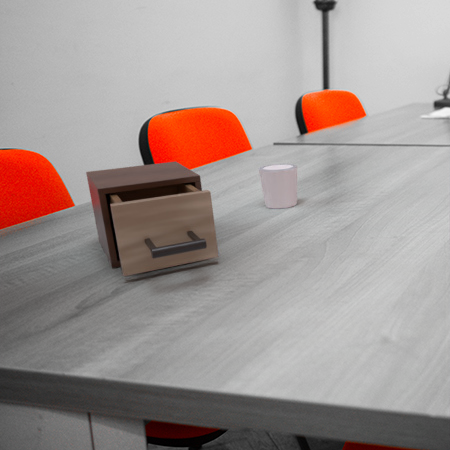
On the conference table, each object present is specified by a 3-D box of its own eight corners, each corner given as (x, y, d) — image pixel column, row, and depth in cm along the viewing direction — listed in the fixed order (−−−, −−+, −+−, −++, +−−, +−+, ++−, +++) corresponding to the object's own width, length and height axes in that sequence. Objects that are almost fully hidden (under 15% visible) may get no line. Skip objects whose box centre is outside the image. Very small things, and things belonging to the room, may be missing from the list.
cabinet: (209, 249, 81) (200, 175, 78) (112, 268, 74) (97, 188, 71) (185, 226, 93) (176, 161, 90) (99, 241, 86) (85, 171, 83)
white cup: (308, 203, 105) (305, 165, 103) (278, 211, 100) (274, 172, 98) (284, 198, 109) (280, 162, 107) (254, 206, 104) (250, 168, 102)
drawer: (233, 270, 70) (224, 200, 67) (132, 292, 64) (118, 216, 61) (193, 233, 85) (185, 175, 83) (109, 248, 80) (98, 186, 77)
